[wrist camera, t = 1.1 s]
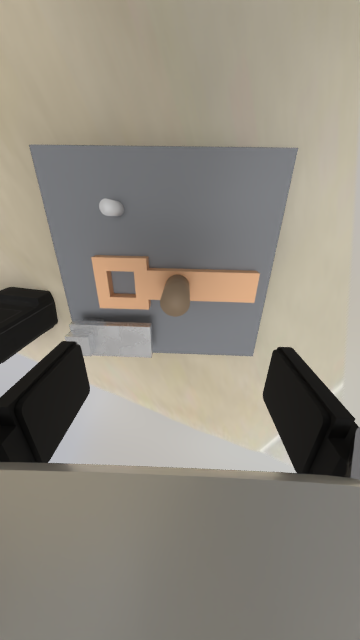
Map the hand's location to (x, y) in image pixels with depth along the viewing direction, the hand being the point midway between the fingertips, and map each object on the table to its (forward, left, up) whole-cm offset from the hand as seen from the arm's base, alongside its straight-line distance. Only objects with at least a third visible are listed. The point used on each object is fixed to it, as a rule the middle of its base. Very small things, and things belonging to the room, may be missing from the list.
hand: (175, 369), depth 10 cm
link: (+1, -1, -20) cm, 20 cm away
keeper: (+9, -10, -21) cm, 25 cm away
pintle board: (0, -3, -21) cm, 22 cm away
